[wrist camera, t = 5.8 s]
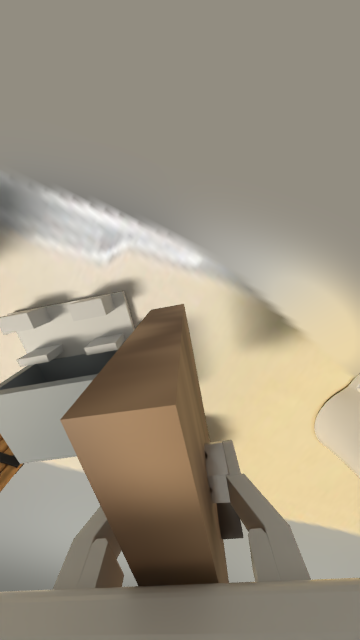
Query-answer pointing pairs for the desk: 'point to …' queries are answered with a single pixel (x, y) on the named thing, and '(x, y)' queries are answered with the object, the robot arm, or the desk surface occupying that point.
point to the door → (154, 456)
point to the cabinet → (57, 369)
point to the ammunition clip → (7, 463)
